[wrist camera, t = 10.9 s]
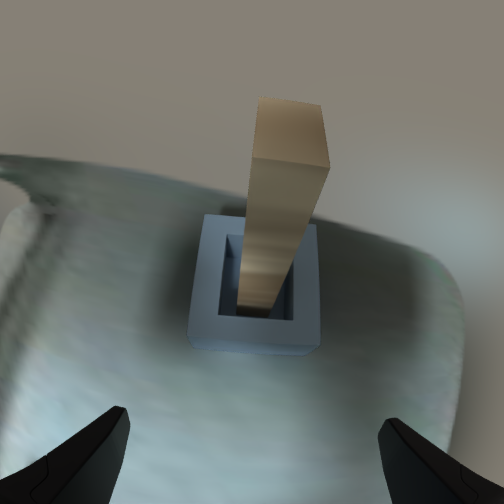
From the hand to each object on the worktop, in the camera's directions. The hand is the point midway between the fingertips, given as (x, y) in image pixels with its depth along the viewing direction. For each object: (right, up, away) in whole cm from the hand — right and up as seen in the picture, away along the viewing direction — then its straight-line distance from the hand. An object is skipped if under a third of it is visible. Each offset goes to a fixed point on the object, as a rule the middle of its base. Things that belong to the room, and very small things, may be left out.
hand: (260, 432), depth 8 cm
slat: (0, +3, +11) cm, 11 cm away
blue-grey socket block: (0, +3, +11) cm, 12 cm away
